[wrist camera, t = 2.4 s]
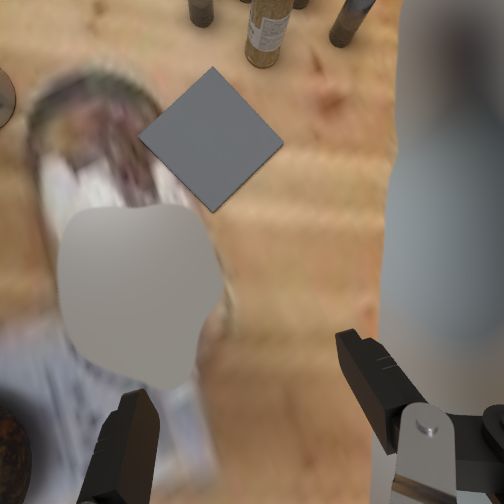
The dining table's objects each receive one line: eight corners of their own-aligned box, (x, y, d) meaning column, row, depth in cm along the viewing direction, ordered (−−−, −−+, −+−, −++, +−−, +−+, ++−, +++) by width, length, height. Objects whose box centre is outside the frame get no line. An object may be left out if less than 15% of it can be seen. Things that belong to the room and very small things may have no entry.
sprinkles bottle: (244, 34, 39) (256, -77, 26) (278, 35, 40) (307, -73, 26) (245, 69, 39) (258, -23, 26) (279, 70, 40) (309, -20, 26)
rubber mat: (139, 139, 38) (137, 136, 37) (213, 70, 39) (212, 66, 38) (212, 213, 39) (212, 212, 38) (282, 144, 40) (284, 142, 39)
